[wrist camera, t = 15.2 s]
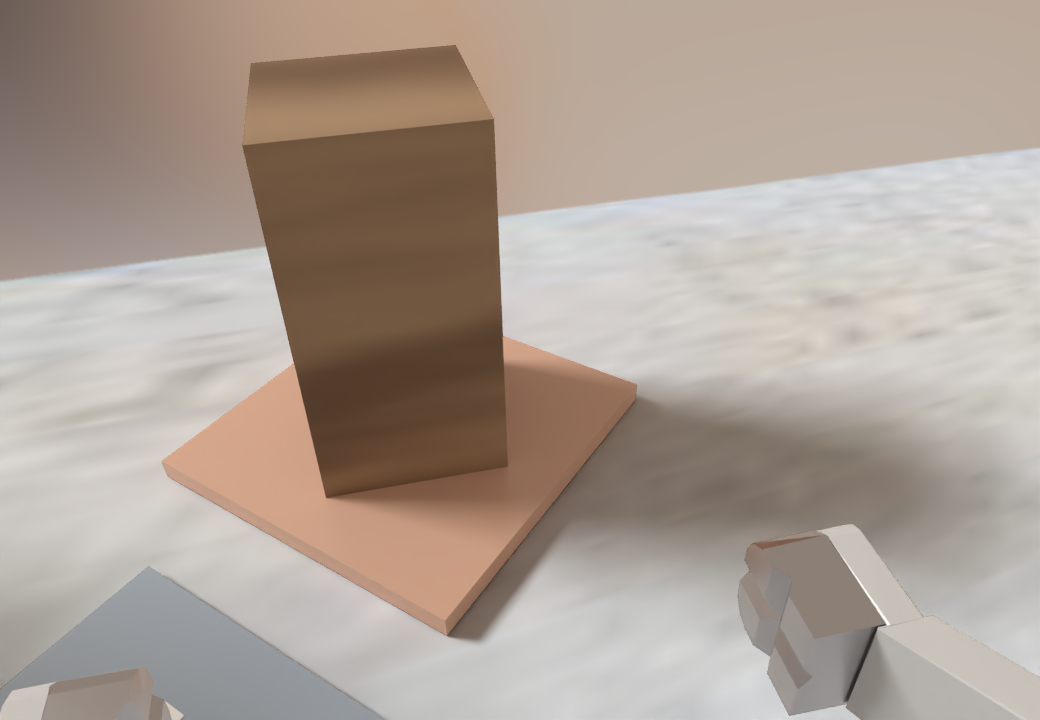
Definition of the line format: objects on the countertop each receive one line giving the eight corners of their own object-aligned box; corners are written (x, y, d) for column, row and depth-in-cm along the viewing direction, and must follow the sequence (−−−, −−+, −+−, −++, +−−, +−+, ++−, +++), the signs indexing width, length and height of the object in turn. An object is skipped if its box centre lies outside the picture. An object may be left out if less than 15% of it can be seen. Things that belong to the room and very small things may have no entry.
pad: (447, 635, 20) (444, 620, 19) (167, 476, 24) (161, 461, 24) (635, 399, 26) (636, 384, 26) (389, 307, 31) (387, 294, 30)
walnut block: (507, 466, 23) (493, 119, 17) (325, 498, 22) (242, 145, 16) (476, 359, 27) (455, 44, 21) (320, 383, 26) (250, 63, 20)
